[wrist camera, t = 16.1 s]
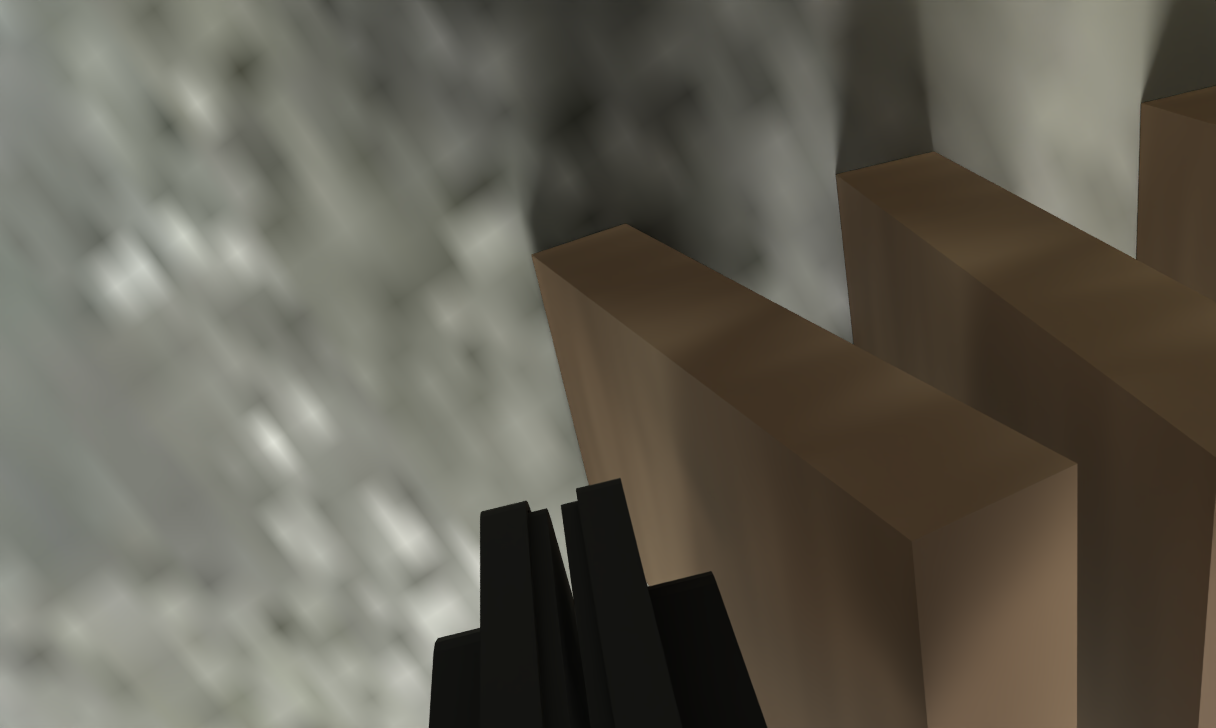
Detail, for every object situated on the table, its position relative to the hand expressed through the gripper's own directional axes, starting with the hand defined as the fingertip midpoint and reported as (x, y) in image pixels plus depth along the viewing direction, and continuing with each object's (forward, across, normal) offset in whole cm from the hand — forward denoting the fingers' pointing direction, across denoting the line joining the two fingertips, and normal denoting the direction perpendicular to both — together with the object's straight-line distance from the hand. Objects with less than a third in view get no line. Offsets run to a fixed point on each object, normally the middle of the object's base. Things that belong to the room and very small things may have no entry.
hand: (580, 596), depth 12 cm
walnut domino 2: (+6, -6, 0) cm, 8 cm away
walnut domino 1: (+5, -1, 0) cm, 5 cm away
